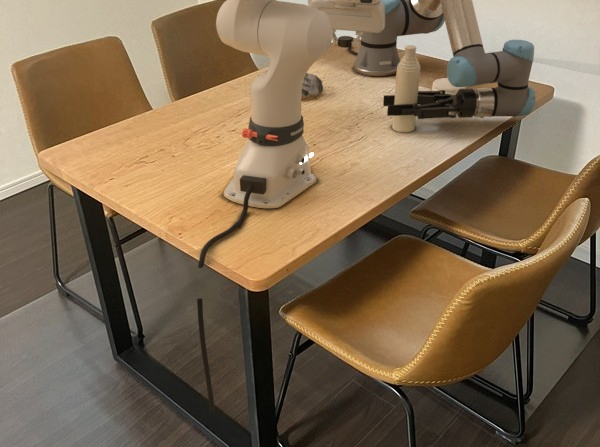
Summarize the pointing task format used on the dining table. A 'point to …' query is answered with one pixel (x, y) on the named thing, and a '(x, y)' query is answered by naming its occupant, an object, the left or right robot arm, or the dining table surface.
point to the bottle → (406, 88)
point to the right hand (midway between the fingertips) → (385, 105)
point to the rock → (311, 86)
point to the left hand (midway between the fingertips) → (345, 46)
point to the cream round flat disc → (445, 86)
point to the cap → (345, 41)
